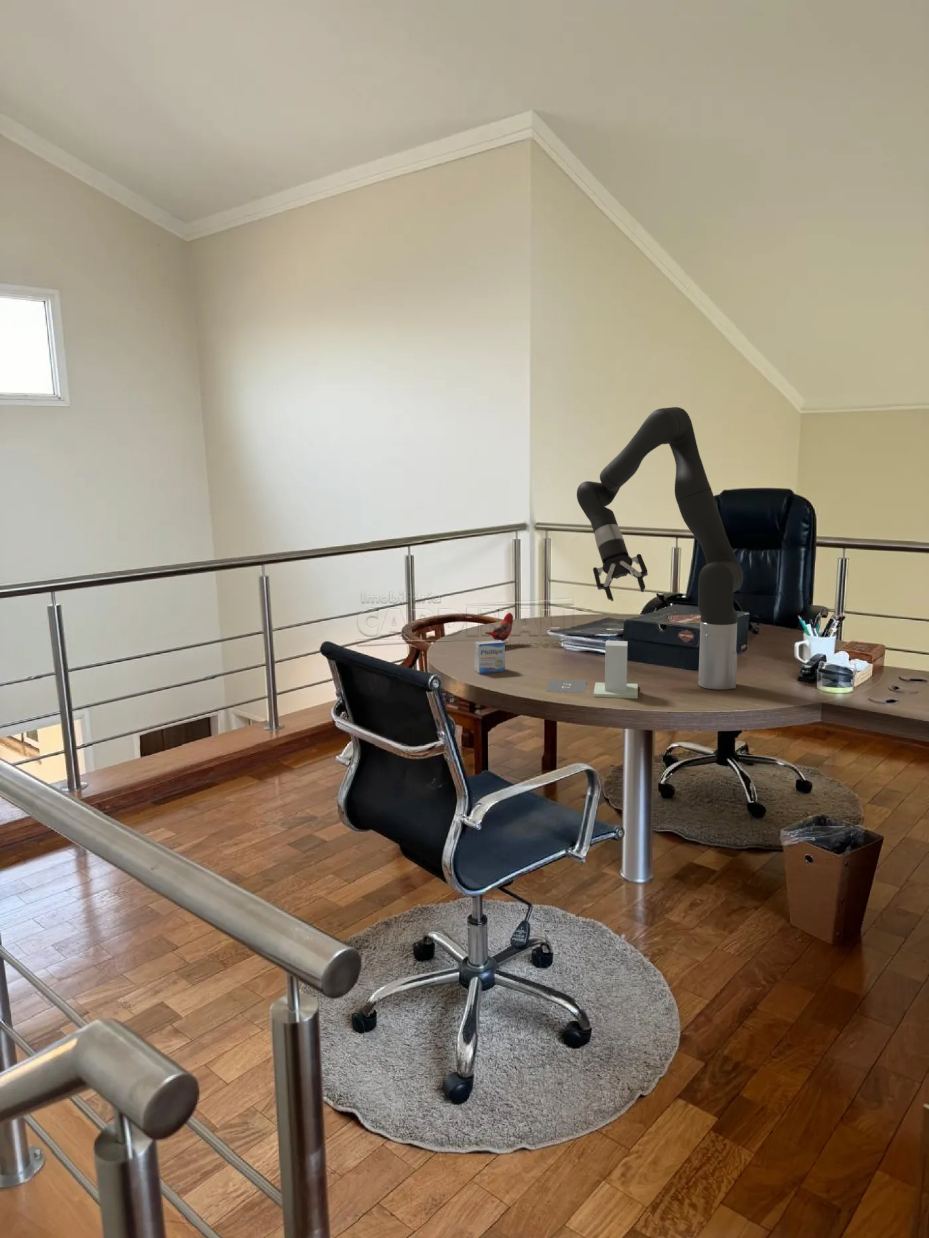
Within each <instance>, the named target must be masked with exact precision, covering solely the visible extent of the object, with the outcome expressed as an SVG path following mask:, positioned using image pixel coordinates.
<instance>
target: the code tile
mask: <svg viewBox="0 0 929 1238" xmlns="http://www.w3.org/2000/svg"><path fill="white" fill-rule="evenodd" d="M587 682H588V680H580V679H579V680H575V679H574V680H573V679H549V682H548V684H547V687H546V689H545V692H548V693H549V692H550V693H551V692H552V693H553V692H554V693H580V694H582V693H583V694H584V693H586V692H585V691H586V687H587Z"/></svg>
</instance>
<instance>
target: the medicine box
mask: <svg viewBox="0 0 929 1238" xmlns="http://www.w3.org/2000/svg"><path fill="white" fill-rule="evenodd" d="M505 643H506V642H505ZM505 643H504V641H501V640H495V639H494V640H485V641H474V643H473V644H474V670H475V671H476V672H477V673H478V674H479V675H483V674H485V675H486V674H494V673H500V672H501V673H502V672H506V647H505V646H506V644H505Z"/></svg>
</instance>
